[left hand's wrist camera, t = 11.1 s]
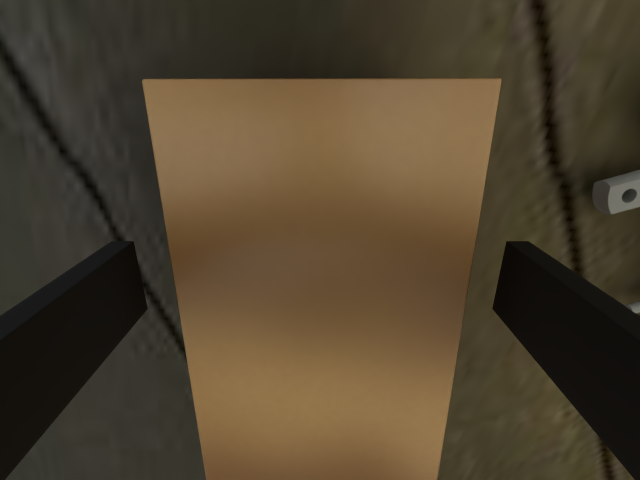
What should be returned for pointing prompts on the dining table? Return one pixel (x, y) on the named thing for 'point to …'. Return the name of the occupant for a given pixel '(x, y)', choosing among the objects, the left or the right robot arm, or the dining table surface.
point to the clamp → (618, 200)
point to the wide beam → (321, 264)
